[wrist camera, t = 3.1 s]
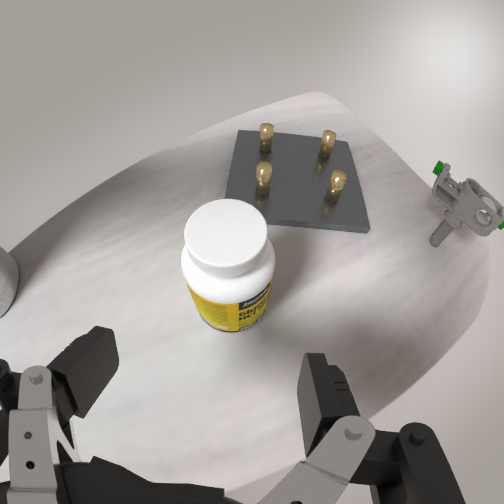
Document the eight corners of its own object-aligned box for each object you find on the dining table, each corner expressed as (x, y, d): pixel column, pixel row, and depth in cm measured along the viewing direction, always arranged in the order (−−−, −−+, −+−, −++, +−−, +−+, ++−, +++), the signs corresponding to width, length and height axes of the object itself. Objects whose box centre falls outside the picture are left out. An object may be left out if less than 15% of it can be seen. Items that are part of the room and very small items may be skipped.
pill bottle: (247, 347, 22) (251, 301, 13) (185, 316, 24) (148, 250, 14) (277, 288, 25) (297, 210, 16) (218, 262, 27) (206, 177, 17)
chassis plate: (222, 220, 29) (220, 191, 25) (238, 135, 37) (238, 109, 34) (366, 233, 29) (381, 207, 25) (345, 147, 37) (353, 123, 33)
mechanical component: (407, 211, 31) (441, 154, 23) (463, 257, 28) (508, 211, 19) (399, 224, 30) (437, 165, 21) (459, 273, 26) (508, 226, 18)
